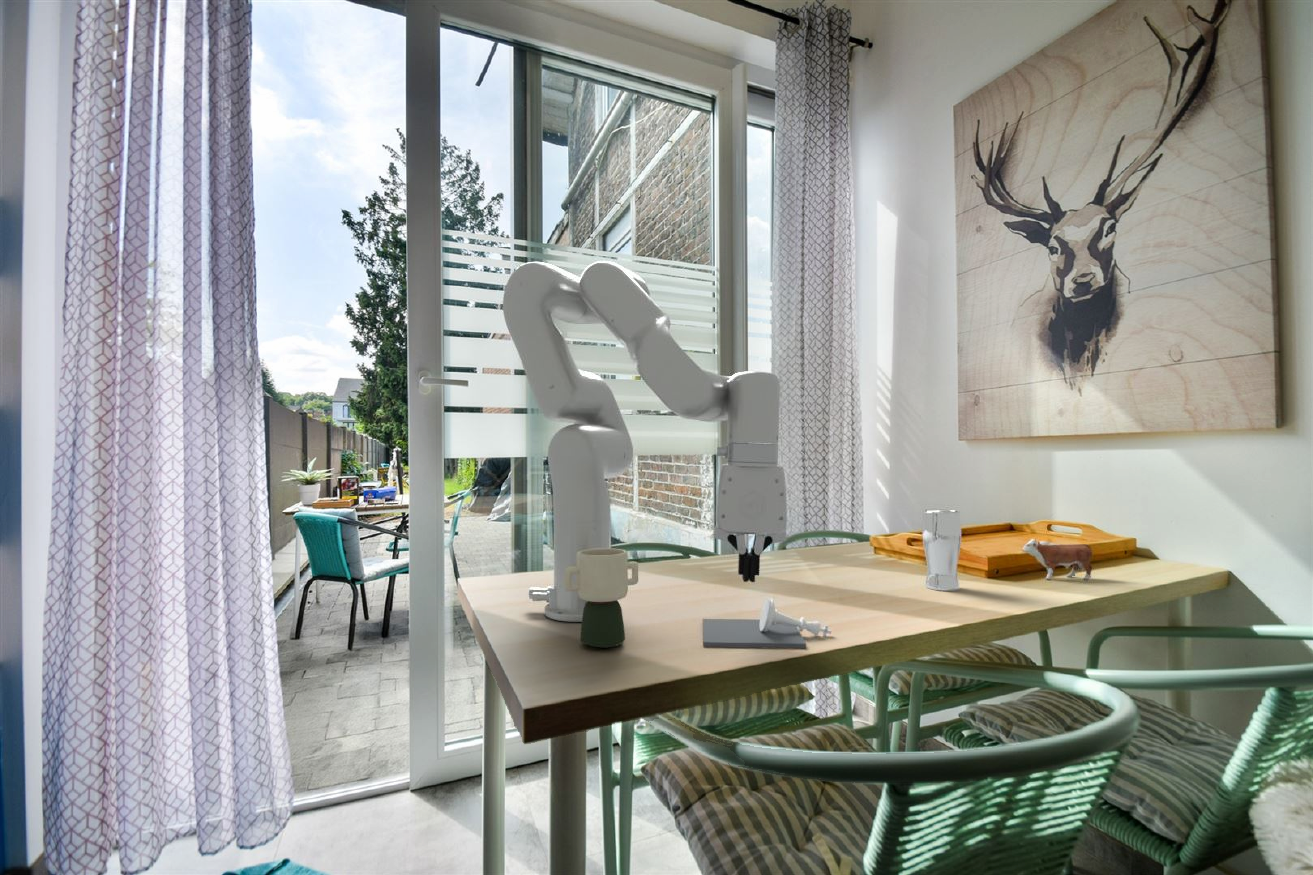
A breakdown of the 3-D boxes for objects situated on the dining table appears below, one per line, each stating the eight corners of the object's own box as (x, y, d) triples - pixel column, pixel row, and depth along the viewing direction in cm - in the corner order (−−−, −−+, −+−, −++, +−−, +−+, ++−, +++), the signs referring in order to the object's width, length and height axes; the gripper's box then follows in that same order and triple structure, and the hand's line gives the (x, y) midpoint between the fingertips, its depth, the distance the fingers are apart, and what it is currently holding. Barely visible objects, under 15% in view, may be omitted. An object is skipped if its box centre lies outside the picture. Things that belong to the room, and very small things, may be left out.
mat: (703, 646, 86) (703, 642, 86) (702, 622, 98) (702, 618, 98) (806, 648, 85) (805, 643, 85) (792, 623, 97) (792, 619, 97)
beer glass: (916, 587, 122) (915, 511, 122) (932, 582, 126) (931, 508, 127) (953, 593, 117) (951, 513, 117) (968, 587, 121) (966, 510, 122)
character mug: (629, 633, 92) (628, 545, 92) (648, 646, 86) (648, 552, 86) (557, 643, 88) (557, 550, 88) (572, 658, 81) (571, 558, 82)
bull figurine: (1019, 575, 133) (1019, 537, 133) (1087, 577, 131) (1087, 538, 131) (1029, 579, 129) (1028, 540, 129) (1099, 581, 127) (1098, 541, 127)
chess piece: (762, 636, 88) (830, 654, 88) (771, 603, 88) (839, 621, 88) (757, 624, 93) (822, 641, 93) (766, 593, 93) (831, 610, 93)
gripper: (701, 454, 89) (697, 583, 89) (807, 458, 88) (804, 588, 88) (701, 453, 96) (697, 572, 96) (799, 457, 95) (795, 576, 95)
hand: (748, 579), depth 92 cm, fingers closed
